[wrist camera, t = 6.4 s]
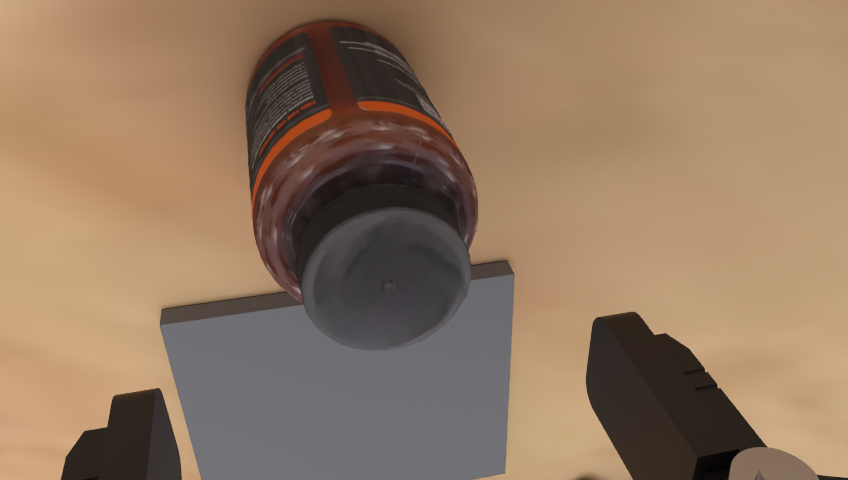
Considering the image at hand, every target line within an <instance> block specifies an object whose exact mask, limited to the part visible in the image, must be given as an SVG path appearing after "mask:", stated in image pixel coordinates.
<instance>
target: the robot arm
mask: <svg viewBox="0 0 848 480" xmlns="http://www.w3.org/2000/svg"><path fill="white" fill-rule="evenodd" d="M586 387H587V393H588V397H589V400H590V403H591V406H592V408H593V410H594V412H595V414H596V415H597V417H598V419H599V421H600V422H601V424H602V426H603V428H604V429H605V431H606V433H607V435H608V436H609V438H610V440H611V442H612V443H613V445H614V447H615V449H616V450H617V452H618V454H619V456H620V457H621V459H622V461H623V463H624V464H625V466H626V468H627V470H628V471H629V473H630V475H631V477H632V478H633V480H848V478H842V477H830V476H822V475H816V474H815V472H814V471H813V470H812V469H811V468H810V467H809V466H808V465H807V464H805V463H804V462H803V461H802V460H800V459H798V458H797V457H795V456H793V455H791V454H789V453H787V452H784V451H781V450H778V449H774V448H768V447H767V446H766V445H765V444H764V443H763V441H762V440H761V439H760V438H759V436H758V435H757V434H756V433H755V431H754V430H753V429H752V428H751V426H750V425H749V424H748V422H747V421H746V420H745V419H744V417H743V416H742V415H741V414H740V412H739V411H738V410H737V409H736V407H735V406H734V405H733V404H732V402H731V401H730V400H729V399H728V397H727V396H726V395H725V393H724V392H723V391H722V390H721V388H719V389H718V387H717V383H716V382H715V381H714V380H713V378H712V377H711V376H710V375H709V373H708V372H705V368H704V367H703V366H702V364H701V363H700V362H699V361H698V359H697V358H696V357H695V356H694V354H693V353H692V352H691V351H690V349H689V348H687V347H686V346H684V345H682V344H681V343H679V342H678V341H676V340H675V339H673V338H672V337H670V336H669V335H667V334H666V333H665V334H659V335H654V334H653V333H652V331H651V330H650V329H649V327H648V326H647V325H646V323H645V322H644V321H643V319H642V318H641V317H640V316H639V315H638V314H637V313H636V312H627V313H621V314H615V315H609V316H603V317H597V318H596V319H595V320H594V322H593V325H592V333H591V341H590V349H589V357H588V365H587V373H586ZM61 480H182V476H181V463H180V456H179V451H178V447H177V443H176V440H175V436H174V433H173V429H172V426H171V422H170V419H169V415H168V412H167V408H166V404H165V401H164V397H163V394H162V392H161V390H160V389H159V388H156V389H150V390H144V391H138V392H132V393H126V394H120V395H115V396H114V397H113V399H112V403H111V409H110V415H109V421H108V426H107V427H106V428H100V429H94V430H89V431H84V433H83V434H82V435H81V437H80V438H79V440H78V441H77V442H76V444H75V445H74V447H73V448H72V449H71V451H70V452H69V454H68V455H67V456H66V460H65V464H64V468H63V473H62V477H61Z"/></svg>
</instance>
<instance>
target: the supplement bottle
mask: <svg viewBox="0 0 848 480" xmlns="http://www.w3.org/2000/svg"><path fill="white" fill-rule="evenodd" d="M245 110H246V128H247V142H248V144H247V145H248V166H249V177H250V191H251V205H252V218H253V228H254V235H255V240H256V244H257V246H258V249H259V252H260V256H261V258H262V260H263V262H264V265H265V267H266V268H267V270H268V271H269V273H270V274H271V275H272V277H273V278H274V279H275V281H276V282H277V283H278V284H279V285H280V286H281V287H282V288H283V289H284V290H286V291H287V292H288V293H289V294H290V295H291V296H293V297H294V298H295V299H296V300H298V301H300V302H302V303H303V304H304V307H305V309H306V312H307V314H308V316H309V318H310V319H311V321H312V322H313V323H314V325H315V326H316V327H317V328H318V329H319V330H320V331H321V332H322V333H323V334H325V335H326V336H327V337H329V338H331V339H332V340H334V341H336V342H338V343H340V344H342V345H344V346H347V347H351V348H353V349H360V350H366V351H385V350H393V349H398V348H403V347H406V346H409V345H412V344H414V343H416V342H420V341H422V340H424V339H426V338H427V337H429V336H430V335H432V334H434V333H435V332H437V331H438V330H439V329H441V328H442V327H443V326H445V325H446V324H447V322H448V321H449V320H450V319H451V318H452V317H453V316H454V315H455V313H456V312H457V310H458V309H459V307H460V306H461V304H462V302H463V300H464V299H465V298H466V296H467V291H468V287H469V284H470V280H471V260H470V255H469V252H468V250H469V247H470V246H471V243H472V240H473V237H474V234H475V232H476V227H477V221H478V199H477V192H476V187H475V182H474V179H473V176H472V174H471V171H470V169H469V167H468V164H467V162H466V161H465V159H464V157H463V155H462V153H461V152H460V150H459V148H458V146H457V145H456V143H455V141H454V139H453V137H452V136H451V134H450V132H449V130H448V129H447V127H446V126H445V124H444V122H443V121H442V119H441V117H440V115H439V114H438V112H437V110H436V109H435V107H434V106H433V104H432V102H431V101H430V99H429V97H428V96H427V94H426V92H425V90H424V89H423V87H422V86H421V84H420V82H419V80H418V79H417V77H416V76H415V74H414V72H413V70H412V69H411V67H410V66H409V64H408V63H407V62H406V60H405V59H404V57H403V56H402V55H401V54H400V53H399V51H398V50H397V49H396V48H395V47H394V46H393V45H392V44H391V43H390V42H389V41H388V40H386V39H385V38H383V37H382V36H380V35H379V34H377V33H375V32H374V31H372V30H370V29H367V28H365V27H363V26H360V25H356V24H352V23H346V22H322V23H315V24H311V25H307V26H304V27H301V28H298V29H296V30H293V31H292V32H290V33H288V34H287V35H285V36H284V37H282V38H280V39H279V40H278V41H277V42H276V43H274V44H273V45H272V46H271V47H270V48H269V49H268V50H267V52H266V53H265V54H264V55H263V56H262V58H261V59H260V61H259V62H258V64H257V66H256V67H255V69H254V71H253V73H252V75H251V78H250V82H249V86H248V90H247V99H246V106H245Z"/></svg>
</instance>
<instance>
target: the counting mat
mask: <svg viewBox="0 0 848 480" xmlns="http://www.w3.org/2000/svg"><path fill="white" fill-rule="evenodd" d="M513 294H514V272H513V271H512V269H511V267H510V265H509V263H508V261H502V262H495V263H488V264H481V265H474V266H471V280H470V284H469V287H468V291H467V296H466V298H465V299H464V300H463V302H462V304H461V306H460V307H459V309H458V310H457V312H456V313H455V315H454V316H453V317H452V318H451V319H450V320H449V321H448V322H447V324H446V325H445V326H443V327H442V328H441V329H439V330H438V331H437V332H435V333H434V334H432V335H430V336H429V337H427V338H426V339H424V340H422V341H420V342H416V343H414V344H412V345H409V346H406V347H403V348H398V349H393V350H385V351H366V350H360V349H353V348H351V347H347V346H344V345H342V344H340V343H338V342H336V341H334V340H332V339H331V338H329V337H327V336H326V335H325V334H323V333H322V332H321V331H320V330H319V329H318V328H317V327H316V326H315V325H314V323H313V322H312V321H311V319H310V318H309V316H308V314H307V312H306V309H305V307H304V304H303V303H302V302H300V301H298V300H296V299H295V298H294V297H293V296H291V295H290V294H289V293H288V292H283V293H276V294H269V295H262V296H255V297H248V298H241V299H234V300H226V301H219V302H212V303H205V304H198V305H191V306H184V307H177V308H170V309H163V310H162V312H161V319H160V329H161V332H162V336H163V340H164V343H165V347H166V351H167V354H168V358H169V362H170V365H171V369H172V373H173V376H174V380H175V384H176V387H177V391H178V395H179V398H180V402H181V406H182V409H183V413H184V417H185V420H186V424H187V428H188V431H189V435H190V439H191V442H192V446H193V450H194V454H195V457H196V461H197V465H198V468H199V472H200V476H201V479H202V480H473V479H478V478H483V477H489V476H494V475H499V474H504V473H505V463H506V441H507V420H508V399H509V378H510V357H511V336H512V315H513Z"/></svg>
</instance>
